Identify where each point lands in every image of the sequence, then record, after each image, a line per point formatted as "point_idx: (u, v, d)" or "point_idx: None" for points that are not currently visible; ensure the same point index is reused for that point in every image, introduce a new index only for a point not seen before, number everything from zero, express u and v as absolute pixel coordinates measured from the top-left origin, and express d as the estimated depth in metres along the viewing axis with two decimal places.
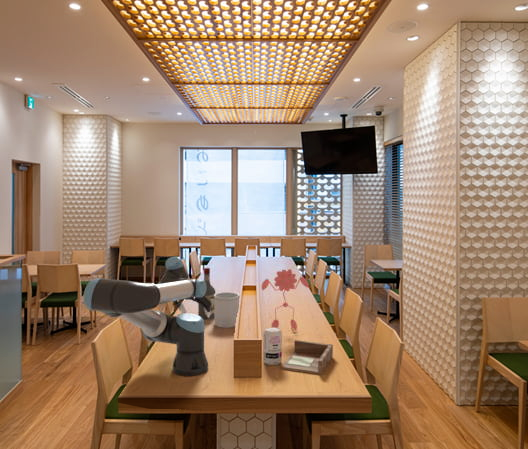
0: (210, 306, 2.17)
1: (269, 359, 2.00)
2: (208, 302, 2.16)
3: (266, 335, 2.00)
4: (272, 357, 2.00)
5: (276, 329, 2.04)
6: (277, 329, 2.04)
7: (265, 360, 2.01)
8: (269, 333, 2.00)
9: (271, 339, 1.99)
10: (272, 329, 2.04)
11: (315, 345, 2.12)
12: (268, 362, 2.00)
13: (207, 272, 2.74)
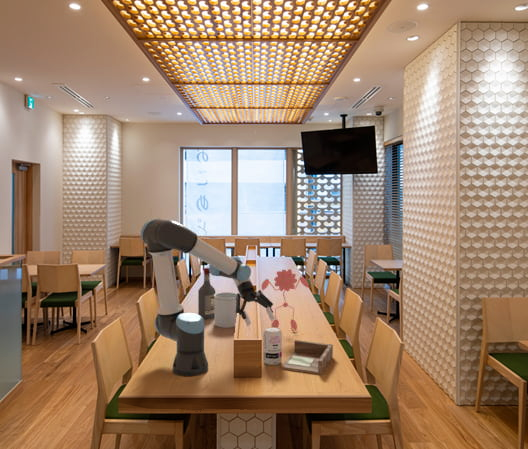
0: (272, 304, 2.21)
1: (269, 359, 2.00)
2: None
3: (266, 335, 2.00)
4: (272, 357, 2.00)
5: (276, 329, 2.04)
6: (277, 329, 2.04)
7: (265, 360, 2.01)
8: (269, 333, 2.00)
9: (271, 339, 1.99)
10: (272, 329, 2.04)
11: (315, 345, 2.12)
12: (268, 362, 2.00)
13: (207, 272, 2.74)
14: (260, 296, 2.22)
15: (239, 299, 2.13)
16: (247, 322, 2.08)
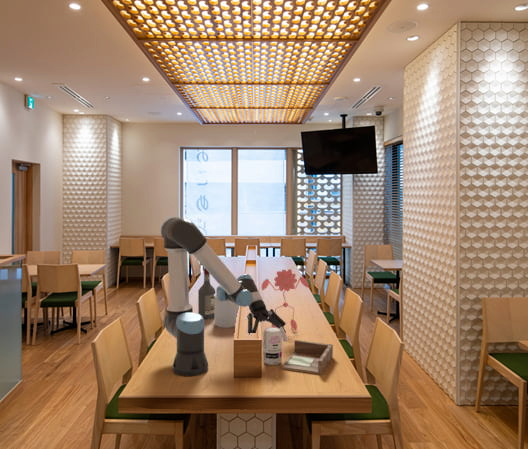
0: (285, 323, 2.14)
1: (269, 359, 2.00)
2: None
3: (266, 335, 2.00)
4: (272, 357, 2.00)
5: (276, 329, 2.04)
6: (277, 329, 2.04)
7: (265, 360, 2.01)
8: (269, 333, 2.00)
9: (271, 339, 1.99)
10: (272, 329, 2.04)
11: (315, 345, 2.12)
12: (268, 362, 2.00)
13: (207, 272, 2.74)
14: (272, 315, 2.15)
15: (251, 319, 2.07)
16: None
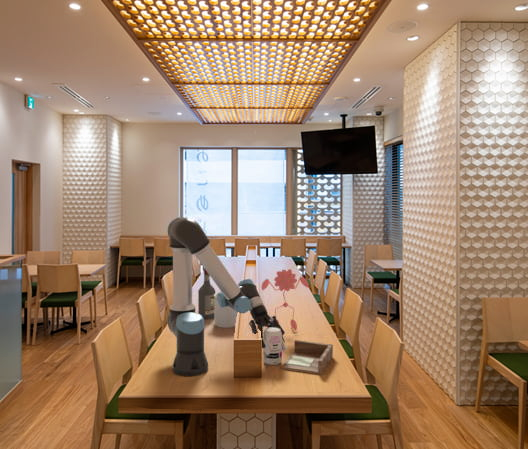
0: None
1: (269, 359, 2.00)
2: None
3: (266, 335, 2.00)
4: (272, 357, 2.00)
5: (276, 329, 2.04)
6: (277, 329, 2.04)
7: (265, 360, 2.01)
8: (269, 333, 2.00)
9: (271, 339, 1.99)
10: (272, 329, 2.04)
11: (315, 345, 2.12)
12: (268, 362, 2.00)
13: (207, 272, 2.74)
14: (273, 322, 2.12)
15: (254, 326, 2.04)
16: (266, 351, 1.99)
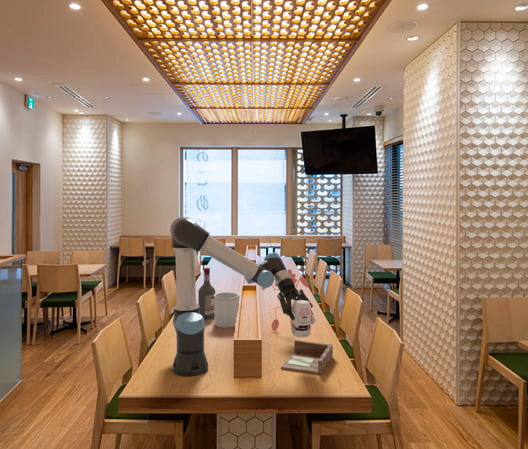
0: None
1: (298, 331, 1.98)
2: None
3: (295, 307, 1.98)
4: (302, 329, 1.97)
5: (305, 301, 2.01)
6: (306, 301, 2.01)
7: (294, 332, 1.99)
8: (298, 305, 1.97)
9: (300, 311, 1.97)
10: (301, 301, 2.01)
11: (315, 345, 2.12)
12: (297, 334, 1.98)
13: (207, 272, 2.74)
14: (301, 295, 2.09)
15: (283, 298, 2.02)
16: (296, 323, 1.97)
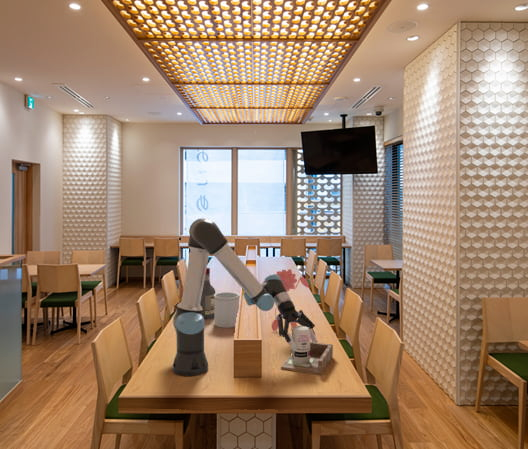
0: None
1: (297, 358, 1.98)
2: None
3: (295, 334, 1.99)
4: (301, 356, 1.98)
5: (304, 328, 2.02)
6: (305, 328, 2.02)
7: (293, 359, 2.00)
8: (298, 332, 1.98)
9: (300, 338, 1.98)
10: (300, 328, 2.02)
11: (315, 345, 2.12)
12: (297, 361, 1.99)
13: (207, 272, 2.74)
14: (301, 316, 2.10)
15: (281, 320, 2.02)
16: (292, 345, 1.97)
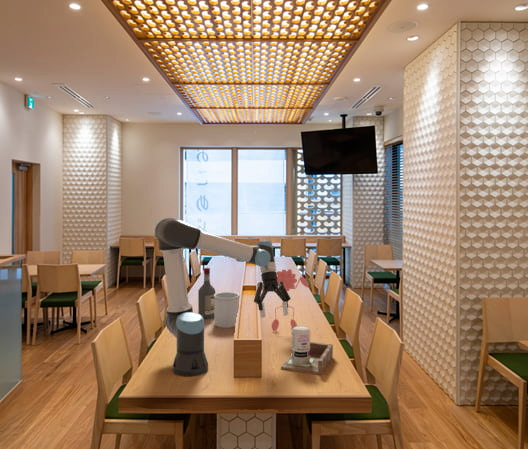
0: (290, 298, 2.21)
1: (297, 358, 1.98)
2: None
3: (295, 334, 1.99)
4: (301, 356, 1.98)
5: (304, 328, 2.02)
6: (305, 328, 2.02)
7: (293, 359, 2.00)
8: (298, 332, 1.98)
9: (300, 338, 1.98)
10: (300, 328, 2.02)
11: (315, 345, 2.12)
12: (297, 361, 1.99)
13: (207, 272, 2.74)
14: (280, 287, 2.21)
15: (260, 289, 2.12)
16: (262, 314, 2.10)
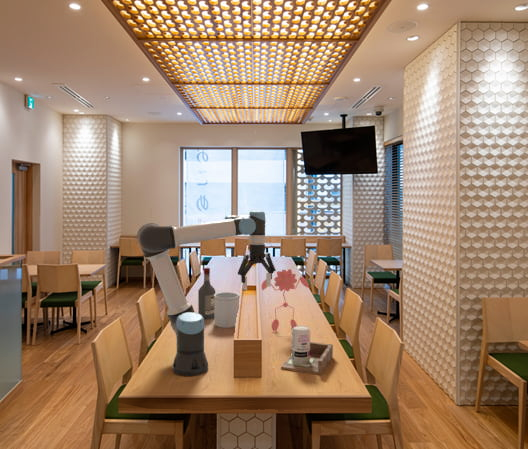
0: (275, 270, 2.21)
1: (297, 358, 1.98)
2: None
3: (295, 334, 1.99)
4: (301, 356, 1.98)
5: (304, 328, 2.02)
6: (305, 328, 2.02)
7: (293, 359, 2.00)
8: (298, 332, 1.98)
9: (300, 338, 1.98)
10: (300, 328, 2.02)
11: (315, 345, 2.12)
12: (297, 361, 1.99)
13: (207, 272, 2.74)
14: (267, 258, 2.19)
15: (246, 262, 2.10)
16: (244, 287, 2.12)
